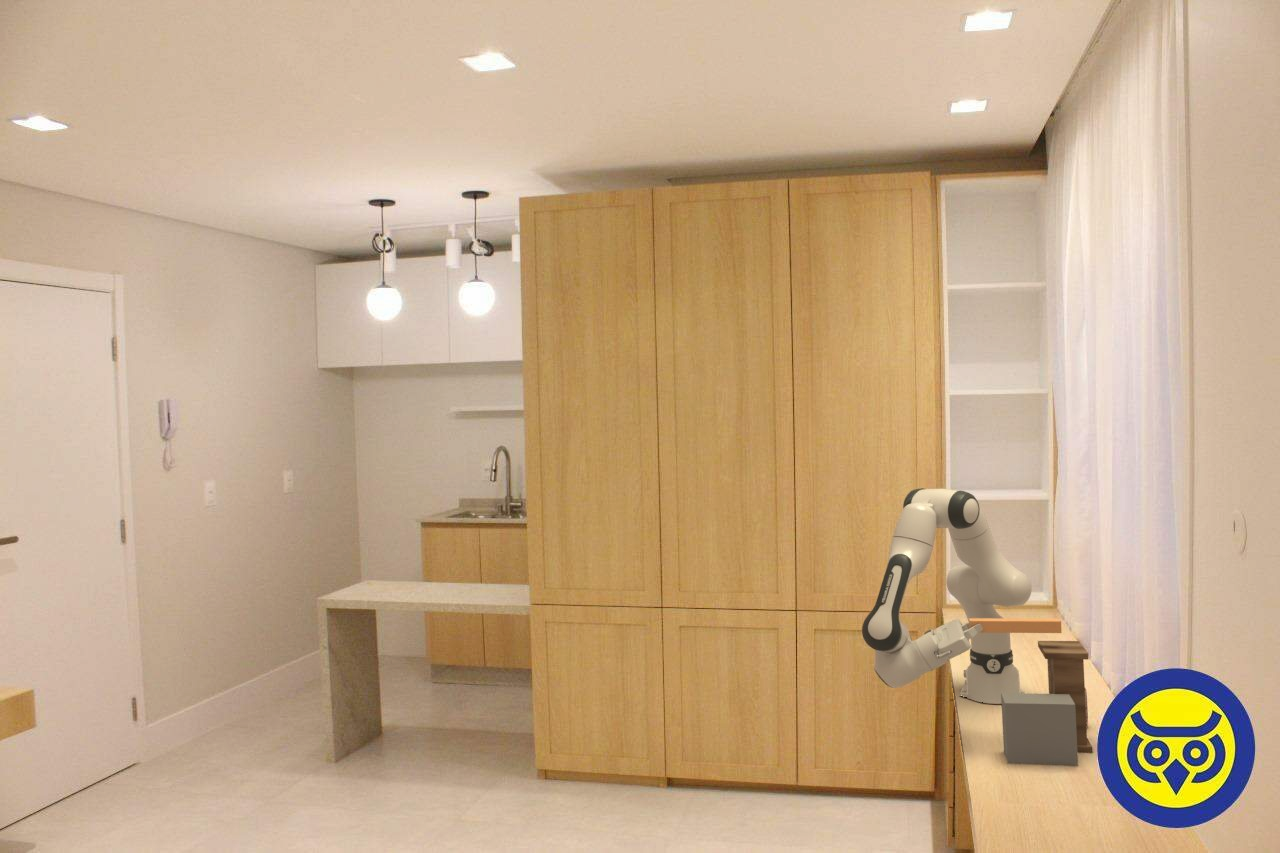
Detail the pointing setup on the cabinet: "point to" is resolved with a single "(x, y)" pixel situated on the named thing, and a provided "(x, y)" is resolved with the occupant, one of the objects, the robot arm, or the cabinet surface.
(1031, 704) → the grey step block
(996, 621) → the orange square-ended block
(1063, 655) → the walnut stand
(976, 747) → the cabinet surface
